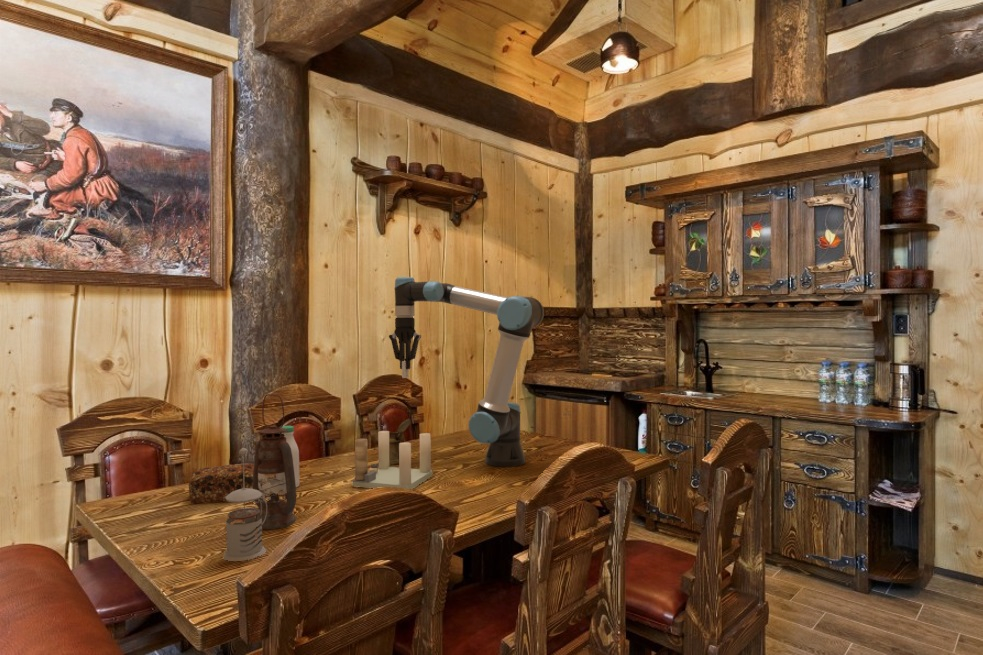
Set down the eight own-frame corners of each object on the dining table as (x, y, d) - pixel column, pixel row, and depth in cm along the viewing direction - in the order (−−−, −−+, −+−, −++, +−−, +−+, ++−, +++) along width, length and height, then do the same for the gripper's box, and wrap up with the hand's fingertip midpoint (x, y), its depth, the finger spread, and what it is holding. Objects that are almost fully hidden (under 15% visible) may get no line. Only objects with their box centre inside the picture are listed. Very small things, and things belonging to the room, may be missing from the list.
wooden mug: (401, 468, 219) (401, 419, 218) (374, 463, 226) (373, 416, 225) (416, 462, 226) (416, 416, 226) (389, 458, 233) (389, 413, 233)
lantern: (277, 534, 152) (276, 398, 151) (237, 523, 160) (235, 394, 160) (310, 521, 161) (309, 393, 161) (271, 511, 170) (269, 390, 169)
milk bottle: (304, 485, 197) (303, 425, 196) (287, 491, 190) (286, 429, 189) (286, 482, 200) (286, 423, 199) (269, 488, 193) (268, 427, 192)
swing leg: (370, 470, 206) (370, 433, 205) (381, 471, 204) (380, 434, 204) (353, 479, 194) (352, 440, 194) (363, 480, 193) (363, 441, 193)
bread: (260, 491, 191) (259, 460, 191) (252, 501, 180) (252, 468, 180) (198, 494, 187) (198, 463, 187) (187, 504, 177) (186, 471, 177)
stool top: (432, 475, 207) (432, 433, 207) (407, 492, 188) (407, 445, 187) (380, 471, 213) (379, 430, 213) (350, 487, 194) (349, 441, 194)
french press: (212, 558, 137) (210, 451, 136) (249, 540, 148) (248, 441, 147) (245, 564, 133) (244, 454, 133) (280, 545, 144) (279, 443, 144)
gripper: (424, 316, 231) (424, 377, 231) (394, 317, 235) (394, 376, 235) (416, 316, 224) (416, 379, 224) (385, 317, 228) (385, 378, 228)
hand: (405, 377), depth 230 cm, fingers closed
